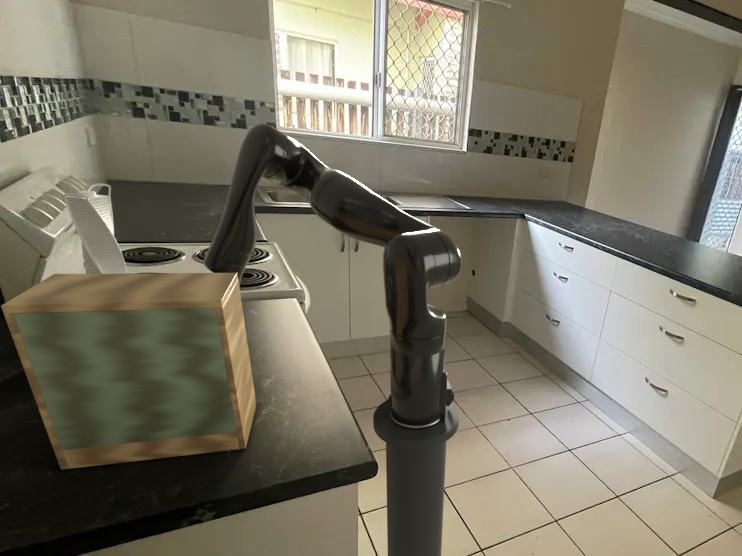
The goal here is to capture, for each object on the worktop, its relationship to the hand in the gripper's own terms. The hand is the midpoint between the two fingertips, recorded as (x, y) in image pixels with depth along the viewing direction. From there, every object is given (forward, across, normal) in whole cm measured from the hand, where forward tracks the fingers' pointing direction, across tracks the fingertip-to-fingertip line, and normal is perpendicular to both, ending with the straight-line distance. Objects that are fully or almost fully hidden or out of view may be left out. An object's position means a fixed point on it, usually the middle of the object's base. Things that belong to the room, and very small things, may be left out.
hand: (155, 380), depth 66 cm
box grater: (-53, -23, +10) cm, 58 cm away
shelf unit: (-1, 0, +9) cm, 9 cm away
